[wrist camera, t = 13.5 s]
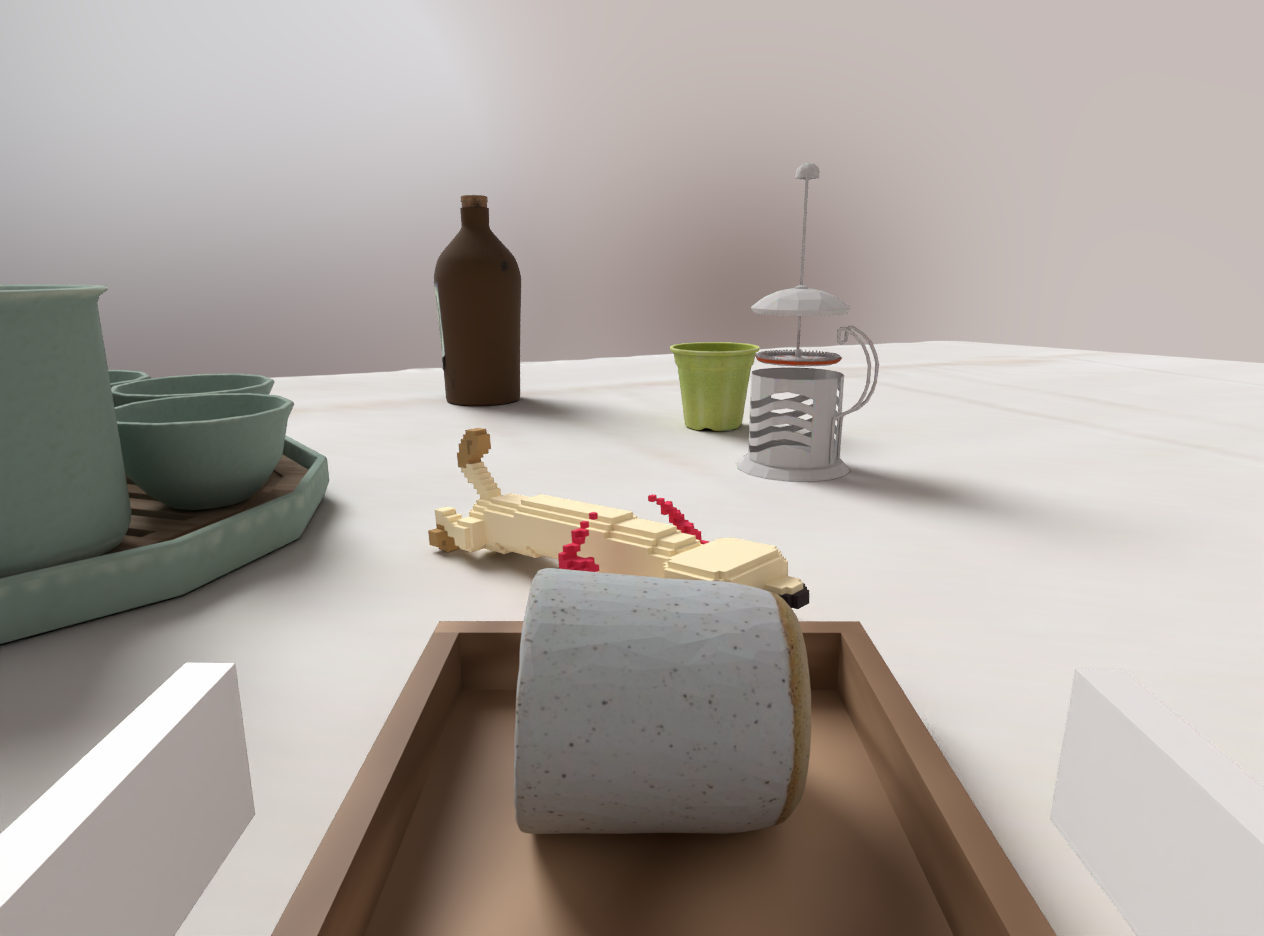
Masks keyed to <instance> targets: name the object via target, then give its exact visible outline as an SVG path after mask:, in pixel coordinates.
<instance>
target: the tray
mask: <svg viewBox="0 0 1264 936" xmlns="http://www.w3.org/2000/svg"><path fill="white" fill-rule="evenodd" d="M523 622H524V621H439V623H438V625H437V627H436V628H435V630H434V632H433V634H432V636H431V638H430V640H429V642H428V643H427V645H426V647H425V649H424V651H423V653H422V655H421V656H420V658H419V660H418V662H417V664H416V666H415V668H414V670H413V671H412V673H411V675H410V677H409V679H408V681H407V683H406V684H405V686H404V688H403V690H402V692H401V694H400V696H399V698H398V699H397V701H396V703H395V705H394V707H393V709H392V711H391V712H390V714H389V716H388V718H387V720H386V722H385V724H384V726H383V727H382V729H381V731H380V733H379V735H378V737H377V739H376V740H375V742H374V744H373V746H372V748H371V750H370V752H369V754H368V755H367V757H366V759H365V761H364V763H363V765H362V767H361V768H360V770H359V772H358V774H357V776H356V778H355V780H354V781H353V783H352V785H351V787H350V789H349V791H348V793H347V795H346V796H345V798H344V800H343V802H342V804H341V806H340V808H339V809H338V811H337V813H336V815H335V817H334V819H333V821H332V823H331V824H330V826H329V828H328V830H327V832H326V834H325V836H324V837H323V839H322V841H321V843H320V845H319V847H318V849H317V851H316V852H315V854H314V856H313V858H312V860H311V862H310V864H309V865H308V867H307V869H306V871H305V873H304V875H303V877H302V879H301V880H300V882H299V884H298V886H297V888H296V890H295V892H294V893H293V895H292V897H291V899H290V901H289V903H288V905H287V907H286V908H285V910H284V912H283V914H282V916H281V918H280V920H279V921H278V923H277V925H276V927H275V929H274V931H273V933H272V935H271V936H1056V934H1055V932H1054V931H1053V929H1052V928H1051V926H1050V924H1049V923H1048V921H1047V920H1046V918H1045V916H1044V915H1043V913H1042V912H1041V910H1040V908H1039V907H1038V905H1037V904H1036V902H1035V901H1034V899H1033V897H1032V896H1031V894H1030V893H1029V891H1028V889H1027V888H1026V886H1025V885H1024V883H1023V881H1022V880H1021V878H1020V877H1019V875H1018V873H1017V872H1016V870H1015V869H1014V867H1013V865H1012V864H1011V862H1010V861H1009V859H1008V857H1007V856H1006V854H1005V853H1004V851H1003V850H1002V848H1001V846H1000V845H999V843H998V842H997V840H996V838H995V837H994V835H993V834H992V832H991V830H990V829H989V827H988V826H987V824H986V822H985V821H984V819H983V818H982V816H981V814H980V813H979V811H978V810H977V808H976V806H975V805H974V803H973V802H972V800H971V799H970V797H969V795H968V794H967V792H966V791H965V789H964V787H963V786H962V784H961V783H960V781H959V779H958V778H957V776H956V775H955V773H954V771H953V770H952V768H951V767H950V765H949V763H948V762H947V760H946V759H945V757H944V756H943V754H942V752H941V751H940V749H939V748H938V746H937V744H936V743H935V741H934V740H933V738H932V736H931V735H930V733H929V732H928V730H927V728H926V727H925V725H924V724H923V722H922V720H921V719H920V717H919V716H918V714H917V712H916V711H915V709H914V708H913V706H912V705H911V703H910V701H909V700H908V698H907V697H906V695H905V693H904V692H903V690H902V689H901V687H900V685H899V684H898V682H897V681H896V679H895V677H894V676H893V674H892V673H891V671H890V669H889V668H888V666H887V665H886V663H885V661H884V660H883V658H882V657H881V655H880V654H879V652H878V650H877V649H876V647H875V646H874V644H873V642H872V641H871V639H870V638H869V636H868V634H867V633H866V631H865V630H864V628H863V626H862V625H861V623H860V622H799V624H800V627H801V630H802V634H803V638H804V642H805V647H806V652H807V659H808V668H809V676H810V688H811V744H810V757H809V766H808V773H807V779H806V784H805V789H804V793H803V795H802V798H801V800H800V802H799V804H798V805H797V807H796V808H795V810H794V811H793V813H792V814H791V815H790V816H789V817H788V818H787V819H786V820H785V821H784V822H783V823H780V824H777V825H775V826H772V827H769V828H766V829H759V830H753V831H747V832H740V833H728V834H714V833H632V834H584V833H562V834H529V833H524V832H522V831H520V829H519V827H518V825H517V822H516V819H515V805H514V792H515V790H514V757H515V754H514V739H515V723H516V694H517V681H518V675H519V665H520V643H521V634H522V627H523Z"/></svg>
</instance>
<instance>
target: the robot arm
mask: <svg viewBox="0 0 1264 936" xmlns="http://www.w3.org/2000/svg"><path fill="white" fill-rule="evenodd" d="M254 815H255V810H254V802H253V795H252V787H251V780H250V772H249V764H248V757H247V749H246V741H245V734H244V726H243V719H242V711H241V703H240V696H239V688H238V681H237V673H236V665H235V663H185V664H184V665H183V666H182V667H181V668H180V669H178V670H177V671H176V672H175V673H174V674H173V675H172V676H171V677H170V678H169V679H168V680H167V681H166V682H164V683H163V684H162V685H161V686H160V687H159V688H158V689H157V690H156V691H155V692H154V693H153V694H151V695H150V696H149V697H148V698H147V699H146V700H145V701H144V702H143V703H142V704H141V705H140V706H138V707H137V708H136V709H135V710H134V711H133V712H132V713H131V714H130V715H129V716H128V717H127V718H125V719H124V720H123V721H122V722H121V723H120V724H119V725H118V726H117V727H116V728H115V729H114V730H112V731H111V732H110V733H109V734H108V735H107V736H106V737H105V738H104V739H103V740H102V741H101V742H99V743H98V744H97V745H96V746H95V747H94V748H93V749H92V750H91V751H90V752H89V753H88V754H86V755H85V756H84V757H83V758H82V759H81V760H80V761H79V762H78V763H77V764H76V765H75V766H73V767H72V768H71V769H70V770H69V771H68V772H67V773H66V774H65V775H64V776H63V777H62V778H60V779H59V780H58V781H57V782H56V783H55V784H54V785H53V786H52V787H51V788H50V789H49V790H48V791H46V792H45V793H44V794H43V795H42V796H41V797H40V798H39V799H38V800H37V801H36V802H35V803H33V804H32V805H31V806H30V807H29V808H28V809H27V810H26V811H25V812H24V813H23V814H22V815H20V816H19V817H18V818H17V819H16V820H15V821H14V822H13V823H12V824H11V825H10V826H9V827H7V828H6V829H5V830H4V831H3V832H2V833H1V834H0V936H174V935H175V934H176V932H177V931H178V929H179V928H180V926H181V925H182V923H183V922H184V920H185V919H186V917H187V916H188V914H189V913H190V911H191V910H192V908H193V907H194V905H195V904H196V902H197V901H198V899H199V898H200V896H201V895H202V893H203V892H204V890H205V889H206V887H207V886H208V884H209V883H210V881H211V880H212V878H213V877H214V875H215V874H216V872H217V871H218V869H219V868H220V866H221V865H222V863H223V862H224V860H225V859H226V857H227V856H228V854H229V853H230V851H231V850H232V848H233V847H234V845H235V844H236V842H237V841H238V839H239V838H240V836H241V835H242V833H243V832H244V830H245V829H246V827H247V826H248V824H249V823H250V821H251V820H252V818H253V817H254ZM1050 820H1051V821H1052V823H1053V824H1054V825H1055V827H1056V828H1057V829H1058V831H1059V832H1060V833H1061V835H1062V836H1063V837H1064V839H1065V840H1066V841H1067V843H1068V844H1069V845H1070V847H1071V848H1072V849H1073V851H1074V852H1075V853H1076V855H1077V856H1078V857H1079V859H1080V860H1081V862H1082V863H1083V864H1084V866H1085V867H1086V868H1087V870H1088V871H1089V872H1090V874H1091V875H1092V876H1093V878H1094V879H1095V880H1096V882H1097V883H1098V884H1099V886H1100V887H1101V888H1102V890H1103V891H1104V892H1105V894H1106V895H1107V896H1108V898H1109V899H1110V900H1111V902H1112V903H1113V905H1114V906H1115V907H1116V909H1117V910H1118V911H1119V913H1120V914H1121V915H1122V917H1123V918H1124V919H1125V921H1126V922H1127V923H1128V925H1129V926H1130V927H1131V929H1132V930H1133V931H1134V933H1135V934H1136V935H1137V936H1264V786H1262V785H1261V784H1260V783H1259V782H1258V781H1256V780H1255V779H1254V778H1253V777H1252V776H1250V775H1249V774H1248V773H1247V772H1246V771H1244V770H1243V769H1242V768H1241V767H1240V766H1239V765H1237V764H1236V763H1235V762H1234V761H1233V760H1231V759H1230V758H1229V757H1228V756H1227V755H1225V754H1224V753H1223V752H1222V751H1221V750H1219V749H1218V748H1217V747H1216V746H1215V745H1214V744H1212V743H1211V742H1210V741H1209V740H1208V739H1206V738H1205V737H1204V736H1203V735H1202V734H1200V733H1199V732H1198V731H1197V730H1196V729H1194V728H1193V727H1192V726H1191V725H1190V724H1189V723H1187V722H1186V721H1185V720H1184V719H1183V718H1181V717H1180V716H1179V715H1178V714H1177V713H1175V712H1174V711H1173V710H1172V709H1171V708H1169V707H1168V706H1167V705H1166V704H1165V703H1164V702H1162V701H1161V700H1160V699H1159V698H1158V697H1156V696H1155V695H1154V694H1153V693H1152V692H1150V691H1149V690H1148V689H1147V688H1146V687H1144V686H1143V685H1142V684H1141V683H1140V682H1139V681H1137V680H1136V679H1135V678H1134V677H1133V676H1131V675H1130V674H1129V673H1128V672H1127V671H1125V670H1124V669H1075V674H1074V680H1073V686H1072V692H1071V698H1070V703H1069V709H1068V715H1067V721H1066V727H1065V733H1064V739H1063V744H1062V750H1061V756H1060V762H1059V768H1058V774H1057V780H1056V786H1055V791H1054V797H1053V803H1052V809H1051V815H1050Z"/></svg>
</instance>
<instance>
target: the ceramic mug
mask: <svg viewBox="0 0 1264 936" xmlns="http://www.w3.org/2000/svg"><path fill="white" fill-rule="evenodd" d="M810 744H811V688H810V676H809V668H808V659H807V652H806V647H805V642H804V638H803V634H802V630H801V627H800V624H799V621H798V619H797V616H796V615H795V613H794V612H793V610H792V609H791V607H790V606H789V605H788V604H787V603H786V601H785V600H784V599H783V598H781V597H780V596H779V595H777V594H775V593H772V592H769V591H766V590H762V589H759V588H755V587H751V586H746V585H742V584H738V583H731V582H722V581H703V580H684V579H669V578H657V577H646V576H634V575H623V574H611V573H600V572H589V571H578V570H567V569H556V568H545V569H541V570H539V571H538V572H537V573H536V575H535V577H534V579H533V581H532V583H531V588H530V592H529V598H528V602H527V606H526V611H525V616H524V622H523V627H522V634H521V643H520V665H519V675H518V681H517V694H516V723H515V739H514V754H515V757H514V790H515V792H514V805H515V819H516V822H517V825H518V827H519V829H520V831H522V832H524V833H529V834H562V833H584V834H632V833H714V834H728V833H740V832H747V831H753V830H759V829H766V828H769V827H772V826H775V825H777V824H780V823H783V822H784V821H785V820H786V819H787V818H788V817H789V816H790V815H791V814H792V813H793V811H794V810H795V808H796V807H797V805H798V804H799V802H800V800H801V798H802V795H803V793H804V789H805V784H806V779H807V773H808V766H809V757H810Z"/></svg>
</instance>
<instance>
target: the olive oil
mask: <svg viewBox="0 0 1264 936" xmlns="http://www.w3.org/2000/svg"><path fill="white" fill-rule="evenodd" d="M461 202H462V208H461V222H462V227H461V230H460V231H459V233H458V234H457V235H456V236H455V238H454V239H453V240H452V241H451V242H450V244H449V245H448V246H447V247H446V248H445V250H444V251H443V252H442V253H441V255H440V256H439V259H438V261H437V264H436V268H435V274H434V286H435V295H436V302H437V312H438V320H439V330H440V338H441V348H442V358H443V359H442V362H443V370H444V378H445V390H446V399H447V401H448V402H449V403H452V404H458V405H468V406H487V405H500V404H506V403H511V402H515V401H517V400H519V399H520V307H521V275H520V271H519V268H518V264H517V262H516V260H515V258H514V256H513V255H512V254H511V252H510V251H509V250H508V249H507V248H506V247H505V246H504V245H503V244H502V242H501V241H500V240H499V239H498V238H497V237H496V236H495V235H494V234H493V232H492V231H491V230H490V228H489V208H487V197H486V196H481V195H464V196H461Z"/></svg>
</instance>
